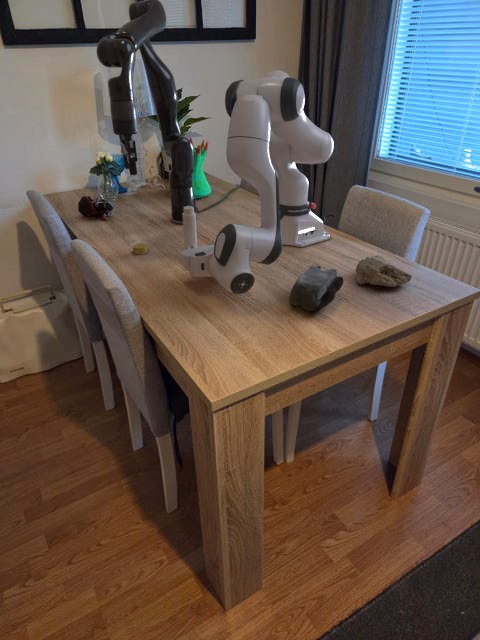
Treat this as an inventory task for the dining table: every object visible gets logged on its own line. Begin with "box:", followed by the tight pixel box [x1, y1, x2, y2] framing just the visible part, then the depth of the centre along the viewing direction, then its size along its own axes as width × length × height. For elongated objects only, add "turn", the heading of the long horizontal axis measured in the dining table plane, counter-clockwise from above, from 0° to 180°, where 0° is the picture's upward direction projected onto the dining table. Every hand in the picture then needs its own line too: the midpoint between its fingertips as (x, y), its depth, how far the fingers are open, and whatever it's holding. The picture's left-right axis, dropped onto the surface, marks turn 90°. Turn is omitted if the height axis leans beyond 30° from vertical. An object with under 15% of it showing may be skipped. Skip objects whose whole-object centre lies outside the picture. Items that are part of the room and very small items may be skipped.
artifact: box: [355, 255, 413, 288], centre depth 137 cm, size 18×7×15 cm
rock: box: [288, 265, 345, 313], centre depth 125 cm, size 18×11×8 cm, turn 152°
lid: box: [132, 243, 148, 255], centre depth 157 cm, size 5×5×2 cm
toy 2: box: [168, 137, 212, 200], centre depth 210 cm, size 20×20×25 cm
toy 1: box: [77, 195, 115, 221], centre depth 185 cm, size 12×9×15 cm
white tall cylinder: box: [182, 206, 198, 250], centre depth 150 cm, size 4×4×17 cm
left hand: (130, 171), depth 143 cm, fingers open, 8 cm apart
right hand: (203, 244), depth 141 cm, fingers open, 8 cm apart
